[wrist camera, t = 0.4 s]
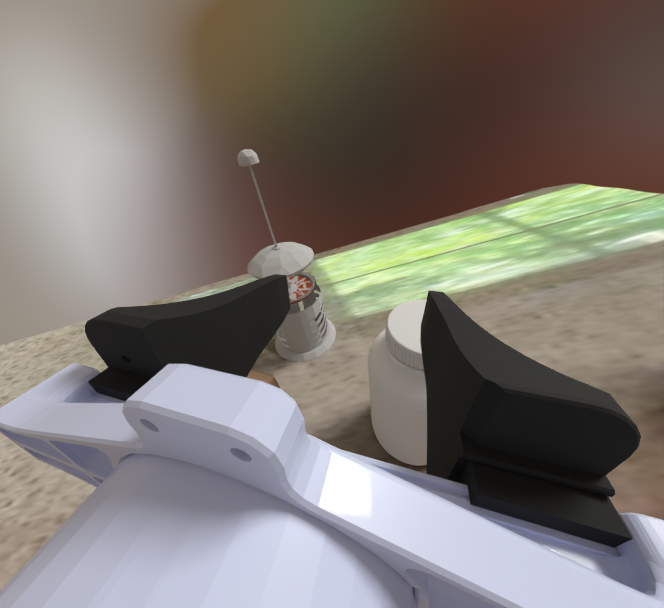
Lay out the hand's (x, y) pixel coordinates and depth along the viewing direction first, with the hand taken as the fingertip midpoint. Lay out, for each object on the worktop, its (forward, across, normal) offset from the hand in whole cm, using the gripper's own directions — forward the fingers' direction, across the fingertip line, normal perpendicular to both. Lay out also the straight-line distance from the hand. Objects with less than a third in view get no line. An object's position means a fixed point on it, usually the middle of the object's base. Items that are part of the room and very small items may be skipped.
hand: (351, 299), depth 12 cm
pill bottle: (+6, -6, +18) cm, 20 cm away
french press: (+17, +10, +18) cm, 27 cm away
